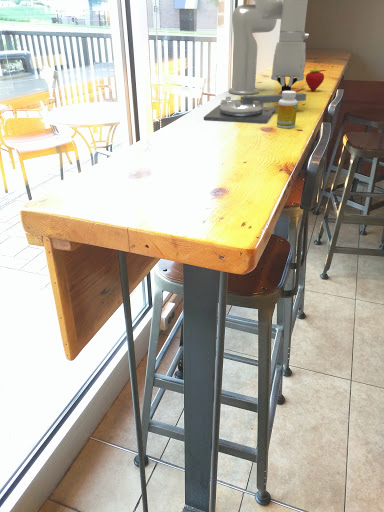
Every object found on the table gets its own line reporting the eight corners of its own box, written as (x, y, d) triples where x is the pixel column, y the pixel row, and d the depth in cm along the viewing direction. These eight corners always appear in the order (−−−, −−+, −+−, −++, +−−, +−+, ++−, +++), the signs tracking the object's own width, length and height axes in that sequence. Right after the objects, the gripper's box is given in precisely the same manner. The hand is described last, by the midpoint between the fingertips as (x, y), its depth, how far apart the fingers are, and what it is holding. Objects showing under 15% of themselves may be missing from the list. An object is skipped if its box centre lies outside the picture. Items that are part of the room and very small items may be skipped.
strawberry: (322, 92, 169) (325, 66, 164) (303, 92, 171) (306, 66, 166) (322, 90, 174) (326, 64, 169) (304, 89, 176) (307, 64, 171)
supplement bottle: (295, 128, 119) (299, 93, 114) (276, 128, 120) (279, 93, 115) (294, 124, 123) (298, 90, 118) (276, 124, 124) (279, 89, 119)
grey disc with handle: (294, 103, 145) (295, 90, 143) (312, 111, 133) (314, 97, 131) (215, 108, 140) (215, 94, 137) (227, 117, 128) (227, 102, 126)
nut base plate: (219, 107, 146) (219, 103, 146) (275, 110, 141) (275, 106, 140) (203, 120, 130) (203, 115, 129) (266, 123, 125) (266, 119, 124)
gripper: (316, 37, 131) (308, 97, 140) (269, 37, 135) (265, 95, 144) (314, 38, 125) (307, 101, 134) (265, 38, 129) (261, 99, 138)
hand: (285, 98), depth 139 cm, fingers closed
